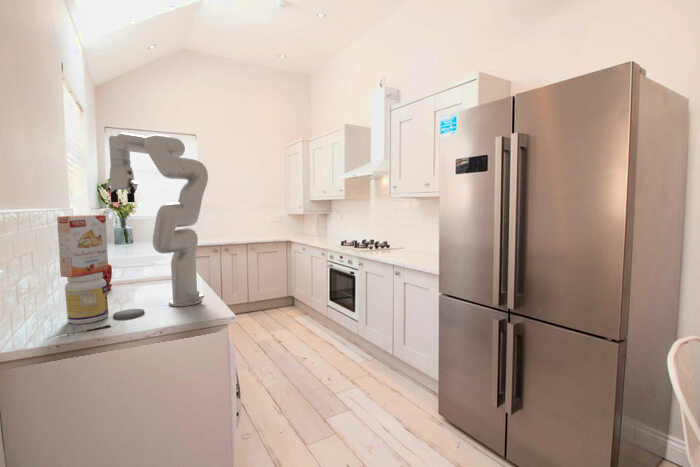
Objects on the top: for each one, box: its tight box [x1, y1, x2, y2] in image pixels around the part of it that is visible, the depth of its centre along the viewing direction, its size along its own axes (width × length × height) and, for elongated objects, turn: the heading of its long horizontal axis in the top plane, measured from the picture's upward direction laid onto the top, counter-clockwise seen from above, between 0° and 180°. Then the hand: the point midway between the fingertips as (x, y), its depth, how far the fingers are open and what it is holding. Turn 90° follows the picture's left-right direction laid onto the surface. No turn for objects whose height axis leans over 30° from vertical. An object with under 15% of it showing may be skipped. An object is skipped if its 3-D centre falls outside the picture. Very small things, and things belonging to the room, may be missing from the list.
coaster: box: [112, 308, 145, 321], centre depth 137 cm, size 10×10×1 cm
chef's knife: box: [67, 324, 112, 336], centre depth 119 cm, size 19×1×3 cm
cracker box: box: [56, 214, 109, 278], centre depth 130 cm, size 14×6×21 cm, turn 167°
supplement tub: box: [64, 272, 109, 325], centre depth 131 cm, size 12×12×17 cm
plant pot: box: [102, 263, 113, 291], centre depth 175 cm, size 13×13×12 cm
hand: (122, 202), depth 164 cm, fingers open, 9 cm apart
